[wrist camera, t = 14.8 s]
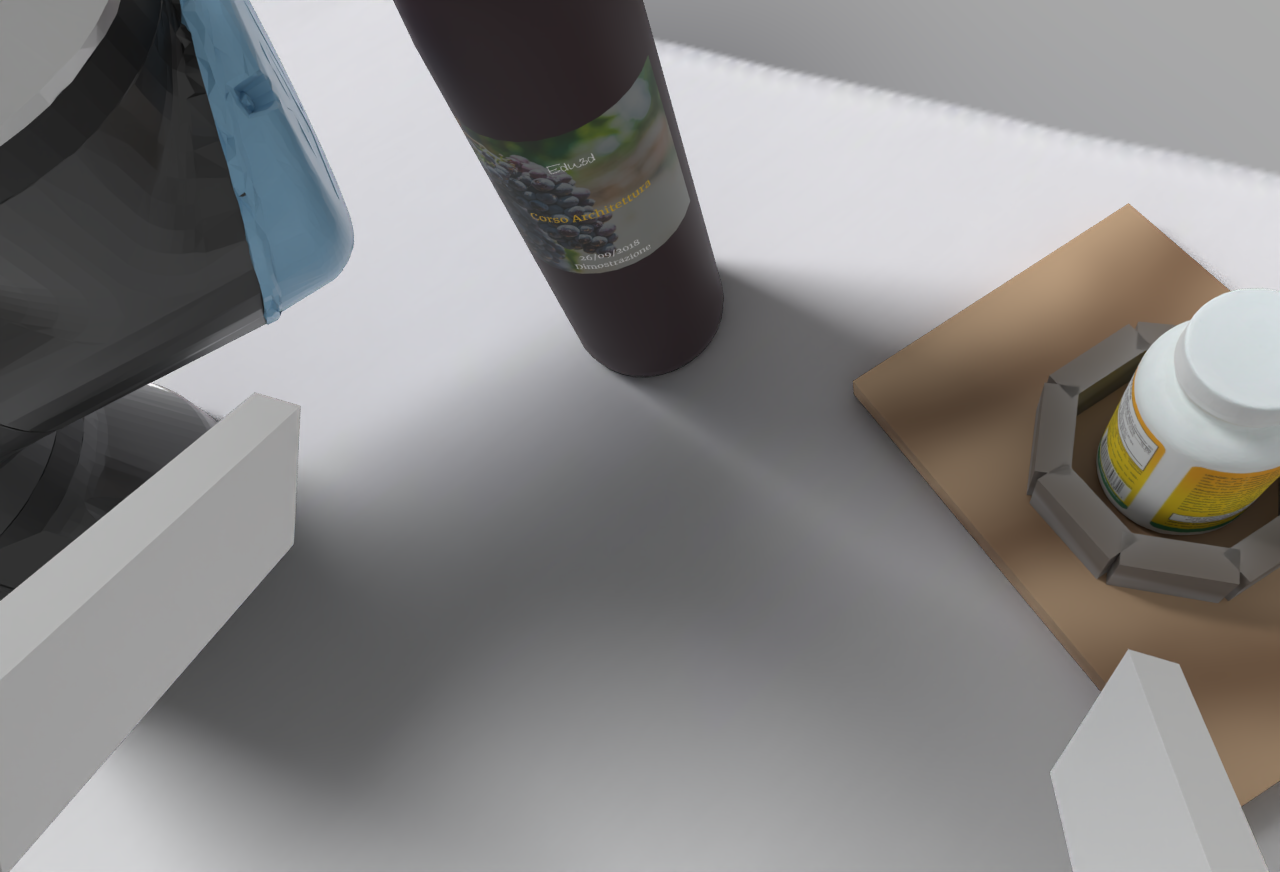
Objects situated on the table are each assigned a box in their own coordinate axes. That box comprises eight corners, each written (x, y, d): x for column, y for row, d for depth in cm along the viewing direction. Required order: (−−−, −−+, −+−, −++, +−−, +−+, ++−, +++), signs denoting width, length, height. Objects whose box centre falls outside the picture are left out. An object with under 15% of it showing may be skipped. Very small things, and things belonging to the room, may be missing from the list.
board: (853, 394, 42) (850, 353, 39) (1122, 220, 43) (1141, 166, 39) (1209, 823, 33) (1244, 815, 29) (1549, 593, 33) (1619, 562, 30)
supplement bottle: (1064, 483, 37) (1118, 363, 29) (1145, 381, 38) (1221, 236, 30) (1201, 570, 35) (1304, 467, 26) (1284, 459, 36) (1409, 325, 27)
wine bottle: (563, 374, 46) (114, -339, 19) (598, 248, 48) (244, -533, 22) (710, 388, 44) (432, -388, 17) (738, 255, 46) (535, -597, 20)
